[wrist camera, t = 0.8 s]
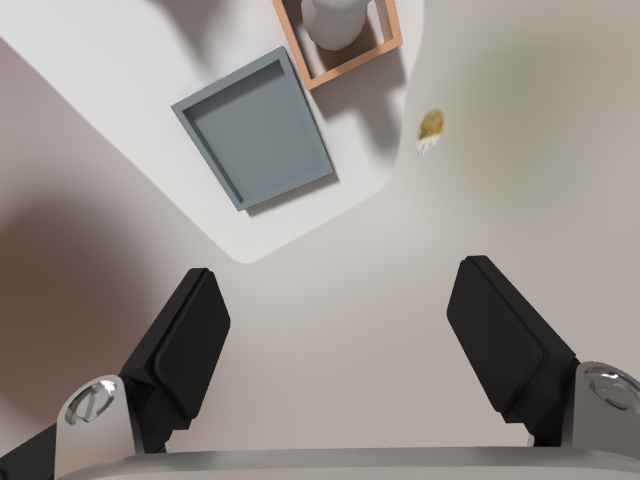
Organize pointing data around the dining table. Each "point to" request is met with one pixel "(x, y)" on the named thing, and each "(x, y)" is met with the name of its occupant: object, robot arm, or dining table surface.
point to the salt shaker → (334, 21)
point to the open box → (391, 39)
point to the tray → (256, 131)
